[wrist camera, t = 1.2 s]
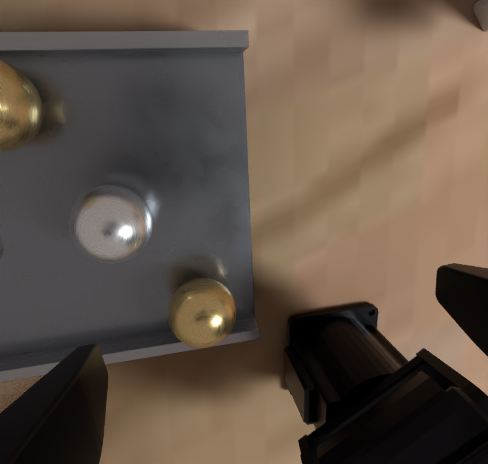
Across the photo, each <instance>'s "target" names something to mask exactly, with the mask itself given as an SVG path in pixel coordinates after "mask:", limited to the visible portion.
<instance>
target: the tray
mask: <svg viewBox="0 0 488 464" xmlns="http://www.w3.org/2000/svg"><path fill="white" fill-rule="evenodd" d="M248 47H249V41H248V30H239V31H83V32H0V59H1V60H4V61H6V62H8V63H9V64H11V65H13V66H15V67H16V68H17V69H19V70H20V71H21V72H22V73H23V74H25V75H26V76H27V77H28V79H29V80H30V81H31V82H32V83H33V85H34V86H35V88H36V89H37V91H38V93H39V95H40V98H41V101H42V105H43V122H42V125H41V128H40V130H39V132H38V134H37V135H36V136H35V137H34V139H33V140H32V141H30V142H29V143H28V144H27V145H25V146H23V147H21V148H19V149H16V150H13V151H9V152H0V382H4V381H10V380H16V379H22V378H28V377H34V376H40V375H46V374H47V373H48V372H49V371H50V370H51V369H53V368H54V367H55V366H56V365H57V364H58V363H60V362H61V361H62V360H63V359H64V358H65V357H67V356H68V355H69V354H70V353H71V352H72V351H74V350H75V349H76V348H77V347H79V346H82V345H87V344H91V343H96V344H98V346H99V347H100V350H101V353H102V356H103V359H104V362H105V365H106V364H112V363H118V362H124V361H130V360H136V359H142V358H148V357H154V356H160V355H166V354H172V353H178V352H184V351H190V350H195V349H201V348H196V347H191V346H189V345H186V344H184V343H183V342H182V341H180V340H179V339H178V338H177V337H176V336H175V334H174V333H173V332H172V330H171V327H170V325H169V321H168V307H169V303H170V300H171V298H172V296H173V294H174V293H175V292H176V290H177V289H178V288H179V287H180V286H181V285H183V284H184V283H186V282H188V281H190V280H193V279H197V278H209V279H213V280H216V281H218V282H220V283H222V284H223V285H224V286H225V287H226V288H227V289H228V290H229V291H230V292H231V294H232V296H233V298H234V300H235V304H236V320H235V324H234V326H233V328H232V330H231V332H230V333H229V335H228V336H227V337H226V338H225V339H224V340H222V341H221V342H220V343H218V344H216V345H214V346H219V345H225V344H231V343H237V342H243V341H249V340H255V339H260V329H259V327H258V324H257V322H256V320H255V315H254V292H253V269H252V246H251V223H250V200H249V177H248V154H247V131H246V108H245V85H244V62H243V52H244V51H245V50H246V49H247V48H248ZM102 185H118V186H122V187H125V188H128V189H130V190H132V191H134V192H135V193H137V194H138V195H139V196H140V197H141V198H142V199H143V200H144V201H145V203H146V204H147V206H148V208H149V210H150V212H151V216H152V224H153V226H152V233H151V236H150V239H149V241H148V243H147V245H146V246H145V247H144V249H143V250H142V251H141V252H140V253H139V254H137V255H136V256H134V257H133V258H131V259H129V260H126V261H123V262H119V263H102V262H98V261H95V260H93V259H91V258H89V257H87V256H86V255H84V254H83V253H82V252H81V251H80V250H79V249H78V248H77V247H76V246H75V244H74V243H73V241H72V238H71V236H70V232H69V227H68V221H69V215H70V212H71V209H72V207H73V205H74V204H75V202H76V201H77V199H78V198H79V197H80V196H81V195H83V194H84V193H85V192H87V191H88V190H90V189H92V188H95V187H98V186H102ZM211 347H213V346H211Z"/></svg>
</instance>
